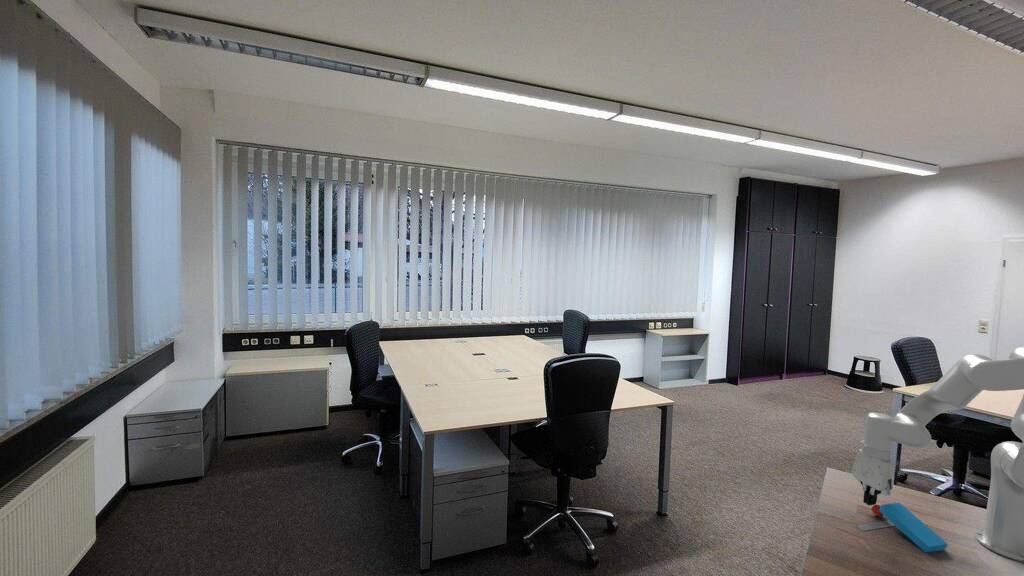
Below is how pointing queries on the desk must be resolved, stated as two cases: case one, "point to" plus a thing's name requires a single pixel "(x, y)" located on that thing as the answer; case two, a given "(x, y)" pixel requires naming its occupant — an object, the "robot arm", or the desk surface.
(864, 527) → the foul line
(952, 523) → the desk surface
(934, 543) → the lever
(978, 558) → the desk surface
